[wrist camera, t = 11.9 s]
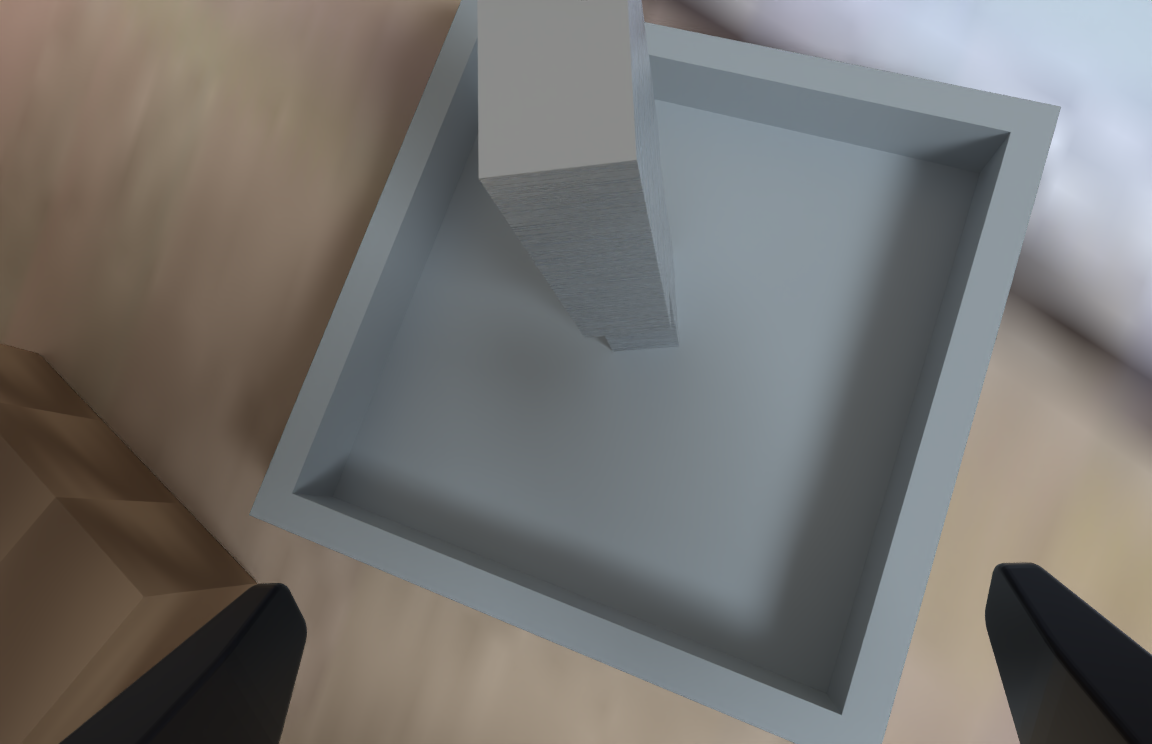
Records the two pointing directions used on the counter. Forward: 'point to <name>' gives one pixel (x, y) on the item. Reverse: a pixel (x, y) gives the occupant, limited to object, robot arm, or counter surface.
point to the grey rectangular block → (580, 159)
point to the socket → (87, 559)
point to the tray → (684, 383)
